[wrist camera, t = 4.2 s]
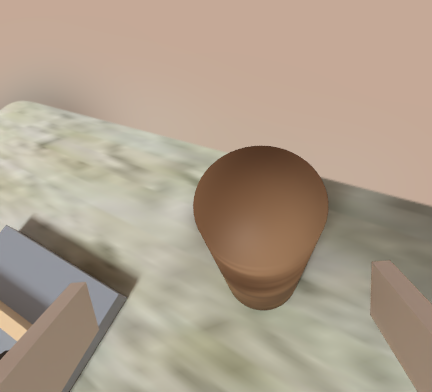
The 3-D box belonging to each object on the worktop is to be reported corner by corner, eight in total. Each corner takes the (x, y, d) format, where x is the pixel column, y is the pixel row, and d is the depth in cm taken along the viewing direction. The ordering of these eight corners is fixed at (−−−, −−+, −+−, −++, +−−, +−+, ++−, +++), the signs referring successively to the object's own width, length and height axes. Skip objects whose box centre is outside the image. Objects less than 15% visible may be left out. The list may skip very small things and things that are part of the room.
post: (307, 257, 22) (347, 171, 12) (280, 324, 21) (297, 293, 10) (245, 229, 24) (230, 130, 13) (214, 289, 22) (169, 230, 12)
